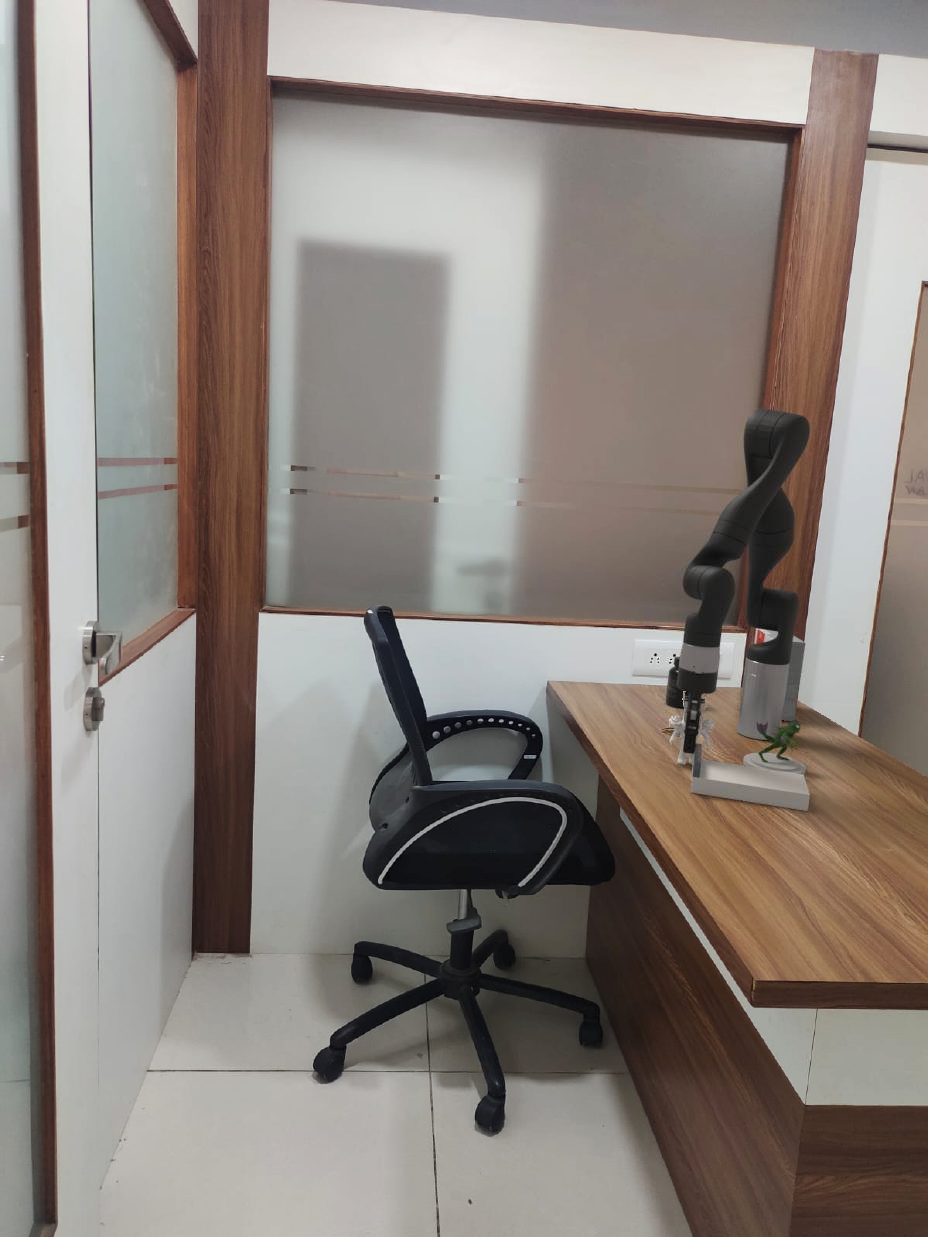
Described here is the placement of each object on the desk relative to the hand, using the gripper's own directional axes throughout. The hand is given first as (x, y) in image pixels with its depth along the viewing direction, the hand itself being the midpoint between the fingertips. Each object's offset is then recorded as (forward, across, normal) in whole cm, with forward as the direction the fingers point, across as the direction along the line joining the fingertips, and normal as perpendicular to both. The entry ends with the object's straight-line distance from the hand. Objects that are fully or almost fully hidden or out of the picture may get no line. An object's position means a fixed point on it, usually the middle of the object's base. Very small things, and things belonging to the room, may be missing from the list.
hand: (688, 749), depth 173 cm
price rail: (0, +12, +2) cm, 12 cm away
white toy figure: (+3, 0, 0) cm, 3 cm away
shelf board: (+3, +12, +11) cm, 16 cm away
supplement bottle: (+3, -45, -3) cm, 45 cm away
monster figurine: (+3, -6, +17) cm, 18 cm away
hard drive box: (+3, -50, +19) cm, 53 cm away
